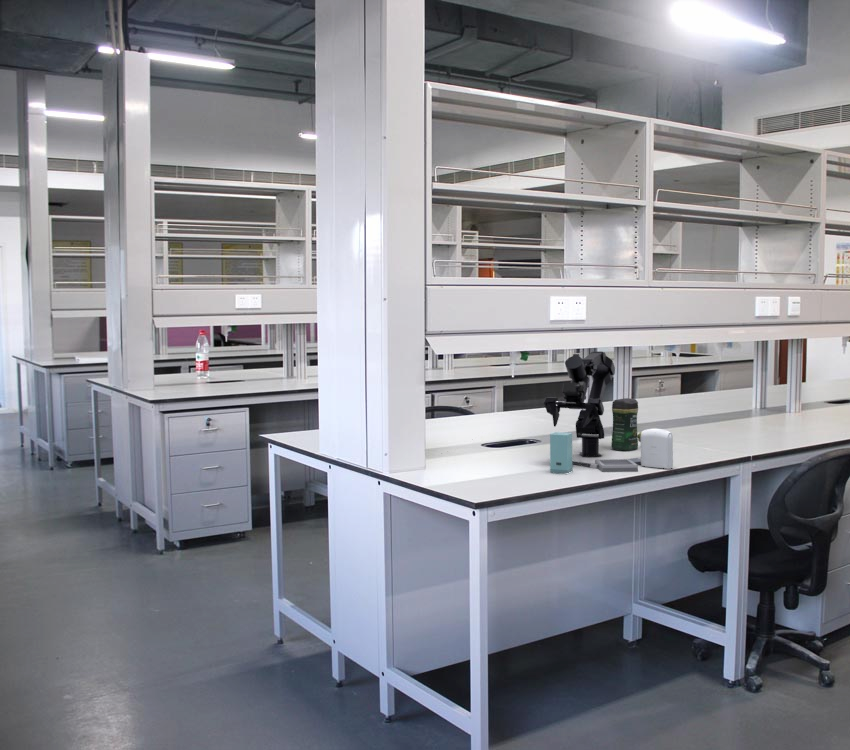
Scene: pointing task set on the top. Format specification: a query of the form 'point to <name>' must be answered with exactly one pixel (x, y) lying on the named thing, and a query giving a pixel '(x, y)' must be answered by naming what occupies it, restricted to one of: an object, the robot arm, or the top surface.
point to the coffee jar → (624, 424)
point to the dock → (616, 465)
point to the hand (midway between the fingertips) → (568, 426)
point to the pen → (585, 464)
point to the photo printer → (657, 448)
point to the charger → (561, 452)
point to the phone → (636, 461)
